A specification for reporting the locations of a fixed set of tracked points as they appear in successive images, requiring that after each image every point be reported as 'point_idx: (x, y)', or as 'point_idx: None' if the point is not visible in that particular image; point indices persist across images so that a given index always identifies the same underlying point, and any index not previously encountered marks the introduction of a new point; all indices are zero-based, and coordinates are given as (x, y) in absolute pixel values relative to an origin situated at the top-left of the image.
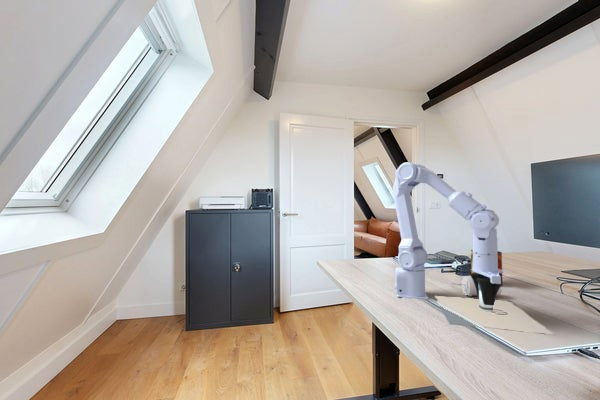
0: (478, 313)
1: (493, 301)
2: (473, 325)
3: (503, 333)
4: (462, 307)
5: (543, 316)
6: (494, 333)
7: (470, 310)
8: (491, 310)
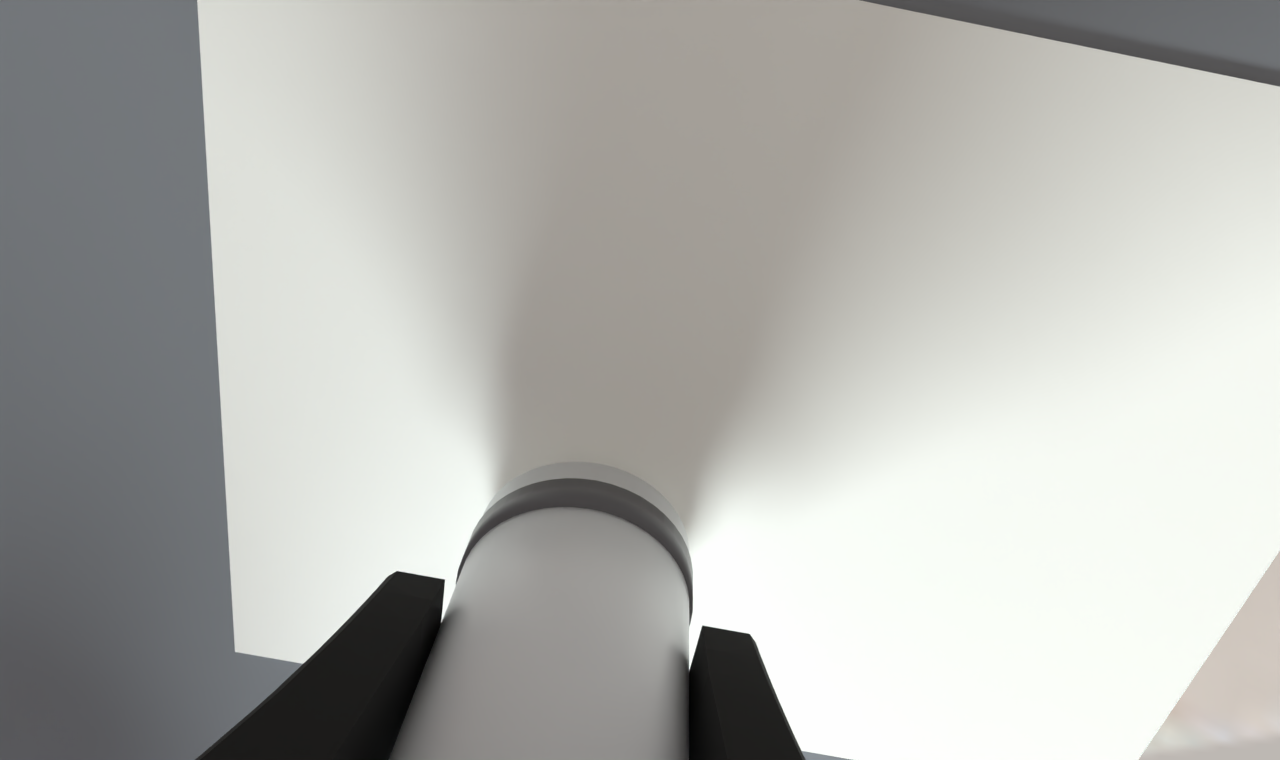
0: None
1: (776, 712)
2: None
3: (1261, 652)
4: None
5: None
6: (1231, 739)
7: None
8: (685, 545)
